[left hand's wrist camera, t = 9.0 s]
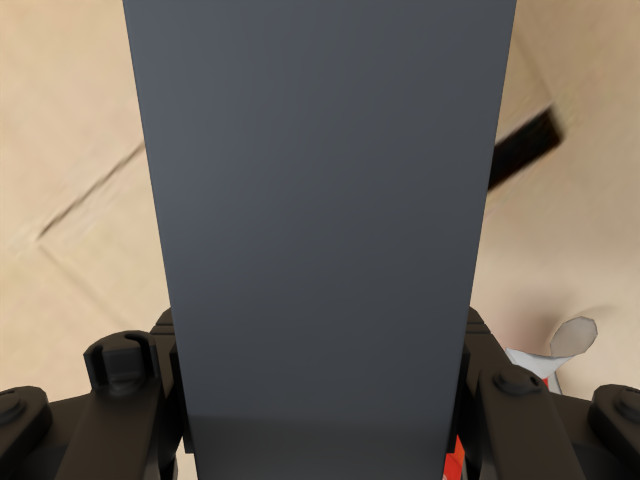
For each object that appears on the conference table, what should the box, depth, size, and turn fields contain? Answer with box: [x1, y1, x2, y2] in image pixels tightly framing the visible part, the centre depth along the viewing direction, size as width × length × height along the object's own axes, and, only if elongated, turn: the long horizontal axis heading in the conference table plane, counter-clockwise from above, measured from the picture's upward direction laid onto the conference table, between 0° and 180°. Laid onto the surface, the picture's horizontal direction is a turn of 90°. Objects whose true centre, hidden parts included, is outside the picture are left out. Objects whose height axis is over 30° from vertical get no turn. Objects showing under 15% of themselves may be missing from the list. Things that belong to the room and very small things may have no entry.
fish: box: [443, 316, 598, 480], centre depth 28 cm, size 11×16×10 cm
